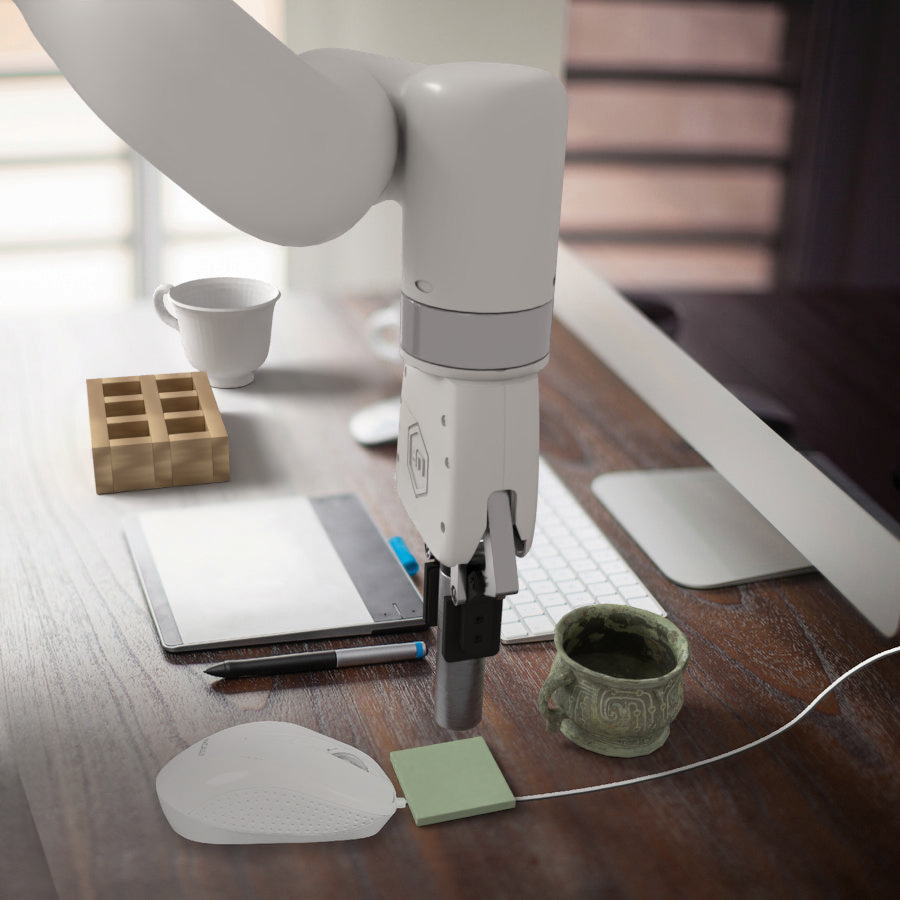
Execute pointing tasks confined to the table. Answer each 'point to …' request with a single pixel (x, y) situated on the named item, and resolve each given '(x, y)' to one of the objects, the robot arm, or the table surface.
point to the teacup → (222, 325)
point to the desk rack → (156, 432)
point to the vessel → (615, 679)
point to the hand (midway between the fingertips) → (460, 636)
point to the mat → (451, 781)
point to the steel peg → (457, 673)
